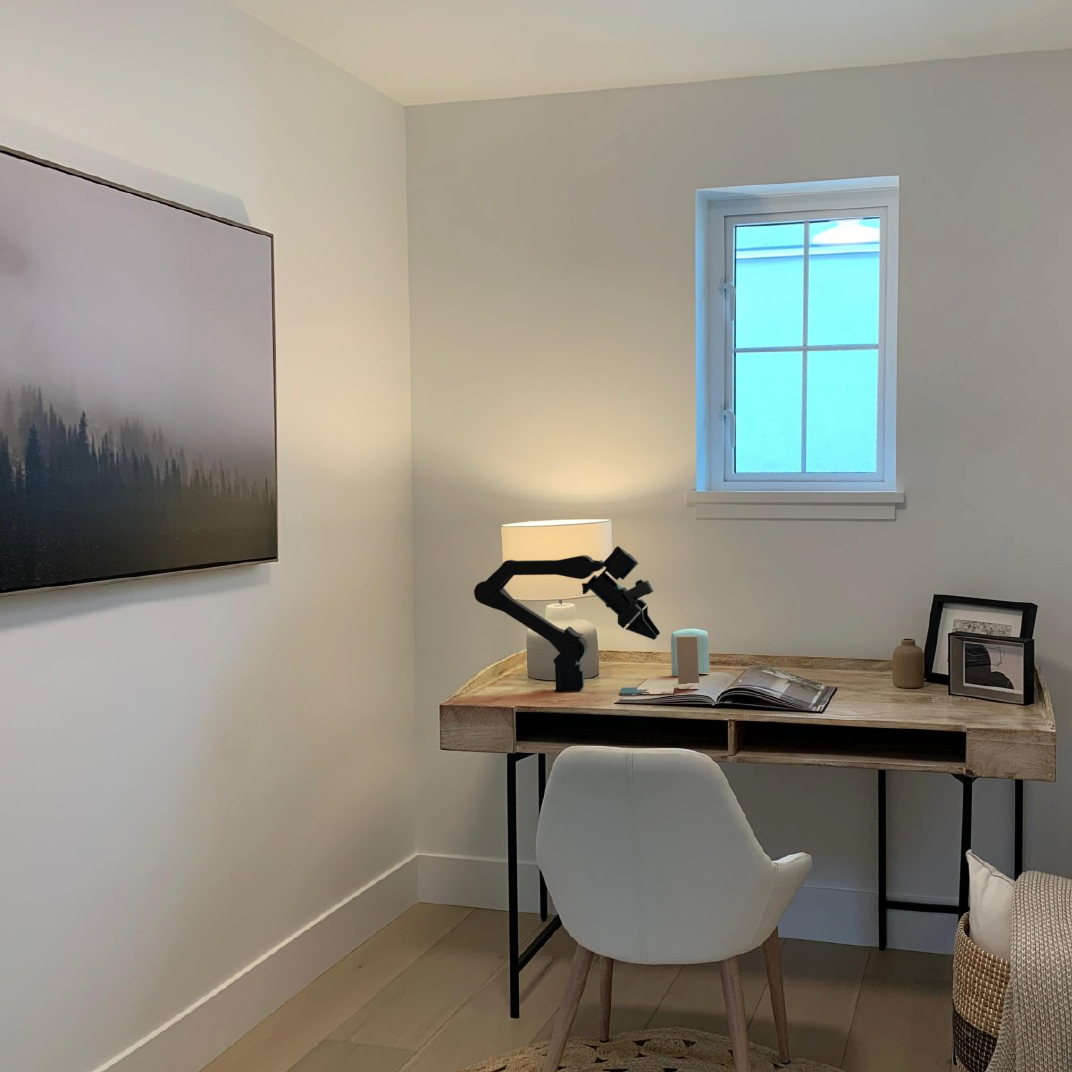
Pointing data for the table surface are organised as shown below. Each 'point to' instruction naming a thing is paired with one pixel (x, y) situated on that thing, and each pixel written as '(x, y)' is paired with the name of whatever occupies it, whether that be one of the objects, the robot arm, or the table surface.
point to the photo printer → (702, 649)
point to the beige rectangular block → (687, 659)
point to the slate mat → (630, 691)
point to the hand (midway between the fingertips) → (657, 636)
